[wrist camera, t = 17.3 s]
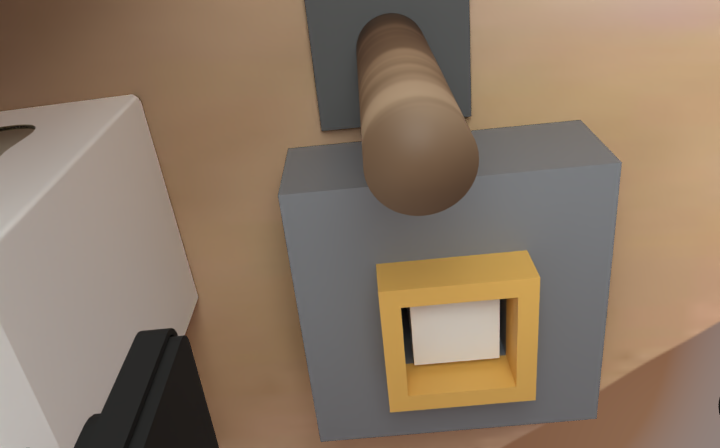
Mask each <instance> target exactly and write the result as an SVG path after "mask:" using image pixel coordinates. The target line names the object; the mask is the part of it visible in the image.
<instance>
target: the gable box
mask: <svg viewBox="0 0 720 448" xmlns="http://www.w3.org/2000/svg"><path fill="white" fill-rule="evenodd" d="M197 300H198V294H197V291H196V287H195V284H194V281H193V277H192V274H191V270H190V267H189V264H188V260H187V257H186V253H185V250H184V247H183V243H182V240H181V236H180V233H179V229H178V226H177V223H176V219H175V216H174V212H173V209H172V206H171V202H170V199H169V195H168V192H167V189H166V185H165V182H164V178H163V175H162V171H161V168H160V165H159V161H158V158H157V154H156V151H155V148H154V144H153V141H152V137H151V134H150V131H149V127H148V124H147V120H146V117H145V113H144V110H143V107H142V103H141V100H140V99H139V98H138V97H136V96H135V95H133V94H130V95H123V96H115V97H107V98H100V99H92V100H84V101H77V102H69V103H61V104H54V105H46V106H38V107H31V108H23V109H15V110H8V111H0V448H74V446H75V443H76V441H77V439H78V437H79V435H80V433H81V431H82V429H83V426H84V425H85V423H86V421H87V420H88V418H89V417H91V416H92V415H93V414H99V413H101V412H102V409H103V407H104V405H105V403H106V401H107V398H108V396H109V394H110V392H111V389H112V387H113V385H114V383H115V380H116V378H117V376H118V374H119V372H120V369H121V367H122V365H123V363H124V360H125V358H126V356H127V354H128V352H129V349H130V347H131V345H132V343H133V340H134V338H135V336H136V335H137V333H138V332H140V331H144V330H155V329H166V328H173V329H175V331H176V332H177V334H178V336H183V335H185V333H186V331H187V328H188V325H189V322H190V319H191V317H192V314H193V311H194V308H195V305H196V303H197Z"/></svg>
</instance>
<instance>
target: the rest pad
mask: <svg viewBox="0 0 720 448" xmlns="http://www.w3.org/2000/svg"><path fill="white" fill-rule="evenodd" d="M305 7H306V15H307V22H308V30H309V37H310V45H311V53H312V60H313V68H314V75H315V83H316V91H317V98H318V106H319V113H320V121H321V129H322V131H327V130H337V129H347V128H357V127H361V122H360V106H359V89H358V72H357V55H356V44H357V39H358V36H359V34H360V32H361V30H362V29H363V27H364V26H365V25H366V24H367V23H368V22H369V21H370V20H372V19H373V18H375V17H377V16H379V15H382V14H387V13H397V14H401V15H404V16H407V17H408V18H410V19H411V20H413V21H414V22H415V23H416V24H417V25H418V26H419V28H420V29H421V31H422V33H423V35H424V37H425V39H426V41H427V43H428V45H429V47H430V49H431V51H432V53H433V55H434V57H435V59H436V61H437V64H438V66H439V68H440V70H441V72H442V74H443V76H444V78H445V80H446V82H447V84H448V86H449V88H450V90H451V92H452V94H453V96H454V98H455V100H456V102H457V104H458V106H459V108H460V110H461V112H462V114H463V116H464V117H469V116H471V76H470V20H469V0H305Z"/></svg>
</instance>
